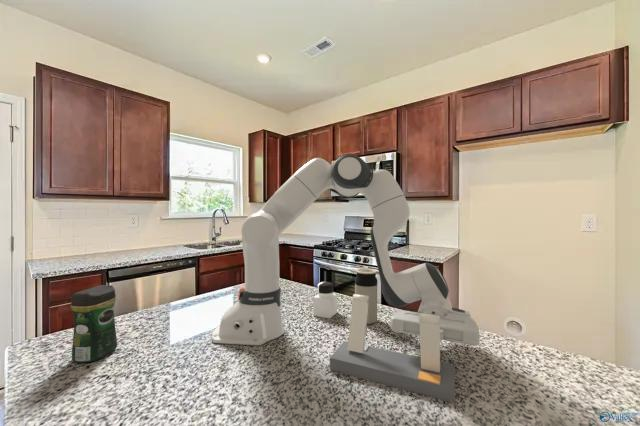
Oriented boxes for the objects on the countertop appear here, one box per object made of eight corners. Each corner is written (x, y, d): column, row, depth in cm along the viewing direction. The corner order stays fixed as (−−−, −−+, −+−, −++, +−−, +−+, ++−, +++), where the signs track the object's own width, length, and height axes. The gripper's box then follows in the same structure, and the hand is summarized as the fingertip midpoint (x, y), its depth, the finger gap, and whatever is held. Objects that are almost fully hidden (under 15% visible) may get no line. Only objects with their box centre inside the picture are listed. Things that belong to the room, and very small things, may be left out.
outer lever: (420, 369, 65) (419, 316, 61) (421, 362, 67) (420, 311, 63) (439, 373, 63) (439, 319, 59) (440, 366, 65) (439, 313, 61)
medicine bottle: (337, 312, 109) (337, 281, 109) (330, 319, 103) (330, 286, 103) (320, 309, 112) (320, 279, 112) (312, 315, 106) (312, 284, 106)
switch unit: (329, 369, 70) (329, 356, 70) (344, 351, 79) (344, 339, 79) (454, 402, 58) (454, 387, 58) (454, 376, 67) (454, 363, 67)
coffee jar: (97, 345, 83) (97, 282, 82) (122, 347, 82) (121, 283, 81) (64, 363, 73) (63, 292, 73) (91, 365, 72) (90, 293, 72)
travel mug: (366, 326, 96) (367, 274, 96) (350, 319, 102) (350, 270, 102) (381, 320, 101) (382, 270, 101) (365, 314, 107) (365, 267, 107)
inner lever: (346, 349, 73) (353, 293, 77) (349, 349, 74) (355, 294, 78) (362, 353, 71) (367, 295, 75) (364, 352, 73) (369, 296, 77)
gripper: (395, 301, 81) (384, 318, 68) (476, 312, 72) (481, 333, 60) (395, 323, 81) (384, 344, 68) (476, 337, 72) (481, 363, 60)
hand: (430, 339), depth 64 cm, fingers closed, pressing on outer lever
